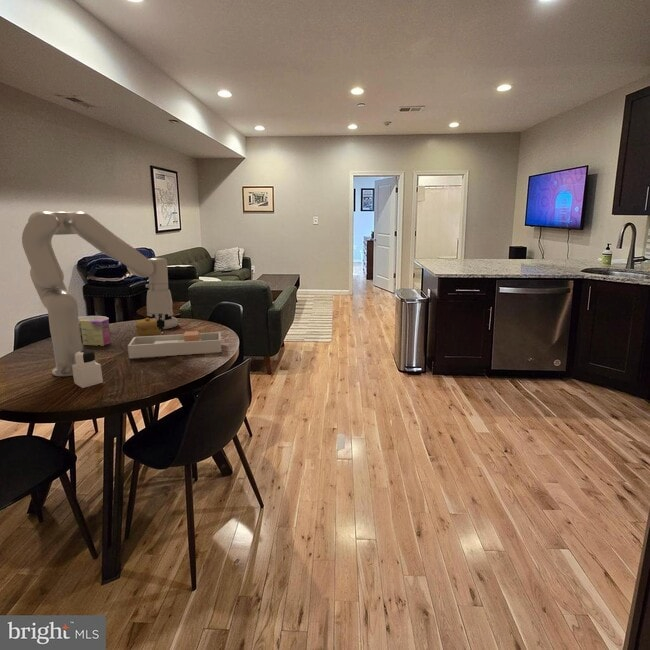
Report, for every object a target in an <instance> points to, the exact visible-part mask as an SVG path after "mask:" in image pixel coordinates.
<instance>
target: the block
mask: <svg viewBox="0 0 650 650" xmlns="http://www.w3.org/2000/svg"><path fill="white" fill-rule="evenodd" d="M199 333H200V331H199V330H193V331H184V333H183V334H184V342H189V341H199Z"/></svg>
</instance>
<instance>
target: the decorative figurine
mask: <svg viewBox="0 0 650 650" xmlns="http://www.w3.org/2000/svg"><path fill="white" fill-rule="evenodd" d="M172 306H174V305H173V301H172ZM159 318H160V320H161V318H162V314H159ZM152 319H155V318H153V317H152ZM164 321H165V327H163V330H169V328H170V329H173V327H174V328H175V327H177V326H178V325H179V320H178V319H177V318H176V317H175V316H168V317H167V318H166V319H165V320H164Z"/></svg>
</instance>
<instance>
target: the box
mask: <svg viewBox="0 0 650 650" xmlns="http://www.w3.org/2000/svg"><path fill="white" fill-rule="evenodd" d="M80 322H81V330H82V337H81V339H82V346H83V345H84V346H98V345H100V347H101V346H103V347H105V346H107V345H109V344H111V342H112V341H111V332H110V330H111V329H110V323H109V322H110V321H109V319H91V318H87V319H84V320H81V321H80ZM106 344H107V345H106ZM104 345H105V346H104Z"/></svg>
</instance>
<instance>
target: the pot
mask: <svg viewBox="0 0 650 650" xmlns="http://www.w3.org/2000/svg"><path fill="white" fill-rule="evenodd" d="M135 328H136V330H135V333H136V334H137V337H143V336H160V335H161V334H160V333H161V331H162V330H161V329H160V330H159V327H157V320H156V319H153V318H150V317H146V318H143V319H140V320H138V321H136V323H135ZM159 334H160V335H159Z"/></svg>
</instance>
